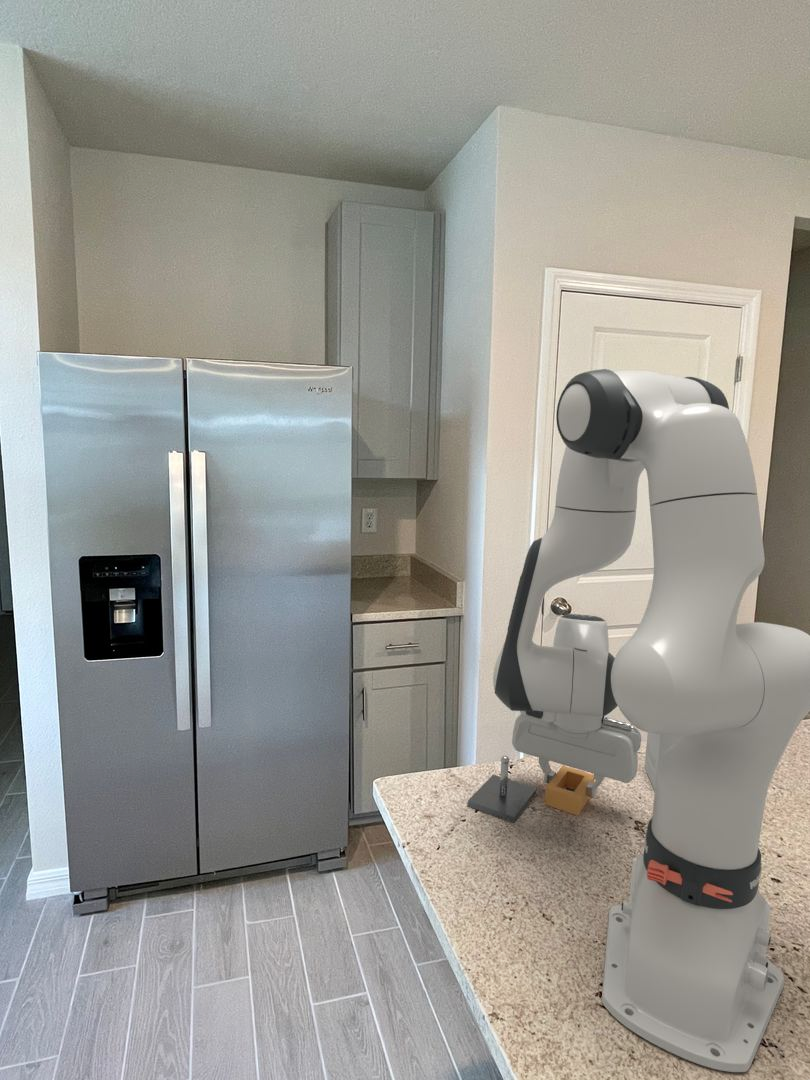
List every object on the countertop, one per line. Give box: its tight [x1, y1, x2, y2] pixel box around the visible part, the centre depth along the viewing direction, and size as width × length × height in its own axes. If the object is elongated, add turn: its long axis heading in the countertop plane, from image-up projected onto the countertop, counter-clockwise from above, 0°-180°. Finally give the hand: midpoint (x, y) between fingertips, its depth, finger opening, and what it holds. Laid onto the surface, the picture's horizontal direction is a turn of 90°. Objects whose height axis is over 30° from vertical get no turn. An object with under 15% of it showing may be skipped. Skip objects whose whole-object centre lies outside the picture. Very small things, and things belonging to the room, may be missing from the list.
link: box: [544, 765, 595, 816], centre depth 107 cm, size 9×6×3 cm, turn 148°
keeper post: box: [467, 755, 538, 823], centre depth 105 cm, size 10×8×8 cm
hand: (570, 789), depth 107 cm, fingers closed on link, 6 cm apart
